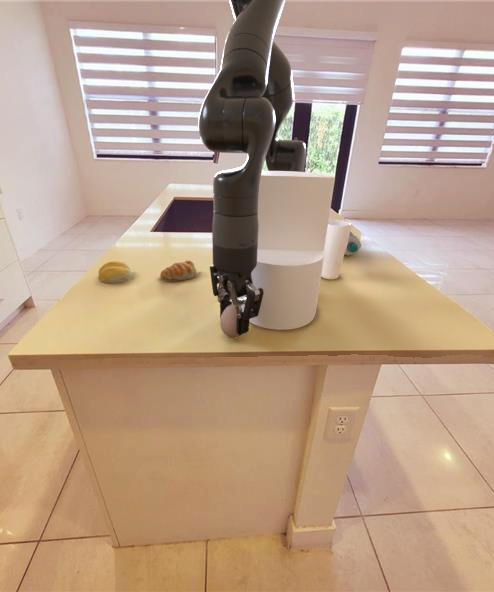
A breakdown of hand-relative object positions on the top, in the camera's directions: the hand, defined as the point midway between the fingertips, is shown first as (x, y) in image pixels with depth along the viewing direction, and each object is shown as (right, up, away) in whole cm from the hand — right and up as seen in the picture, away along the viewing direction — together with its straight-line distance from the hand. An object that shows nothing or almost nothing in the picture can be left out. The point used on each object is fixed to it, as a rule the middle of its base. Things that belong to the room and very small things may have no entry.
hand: (233, 325), depth 59 cm
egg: (0, -2, +1) cm, 3 cm away
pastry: (-15, +11, +25) cm, 31 cm away
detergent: (+36, +22, +50) cm, 66 cm away
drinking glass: (+26, +11, +28) cm, 39 cm away
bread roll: (-32, +10, +23) cm, 41 cm away
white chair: (+9, +3, +11) cm, 15 cm away
